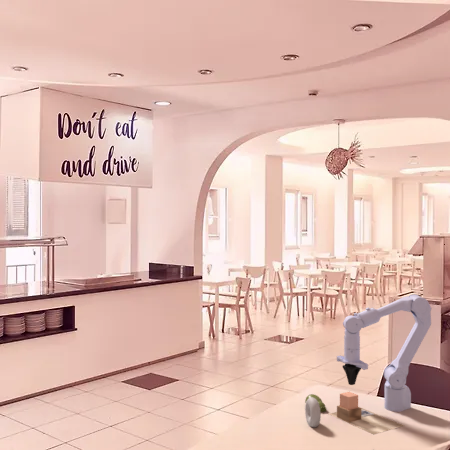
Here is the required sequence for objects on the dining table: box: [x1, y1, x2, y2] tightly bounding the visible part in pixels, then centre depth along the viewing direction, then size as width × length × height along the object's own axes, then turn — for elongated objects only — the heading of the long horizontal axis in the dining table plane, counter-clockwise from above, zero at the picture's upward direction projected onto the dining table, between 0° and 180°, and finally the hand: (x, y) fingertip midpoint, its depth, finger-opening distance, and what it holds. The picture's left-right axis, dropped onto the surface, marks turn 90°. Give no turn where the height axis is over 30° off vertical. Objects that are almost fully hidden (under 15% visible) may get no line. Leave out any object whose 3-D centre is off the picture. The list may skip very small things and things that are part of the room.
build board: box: [328, 407, 405, 435], centre depth 196 cm, size 15×22×1 cm
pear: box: [304, 393, 327, 413], centre depth 208 cm, size 6×5×10 cm
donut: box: [304, 397, 322, 428], centre depth 191 cm, size 10×4×10 cm, turn 8°
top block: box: [339, 391, 359, 410], centre depth 197 cm, size 4×4×4 cm
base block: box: [336, 404, 362, 423], centre depth 197 cm, size 6×6×4 cm
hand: (351, 384), depth 209 cm, fingers closed
